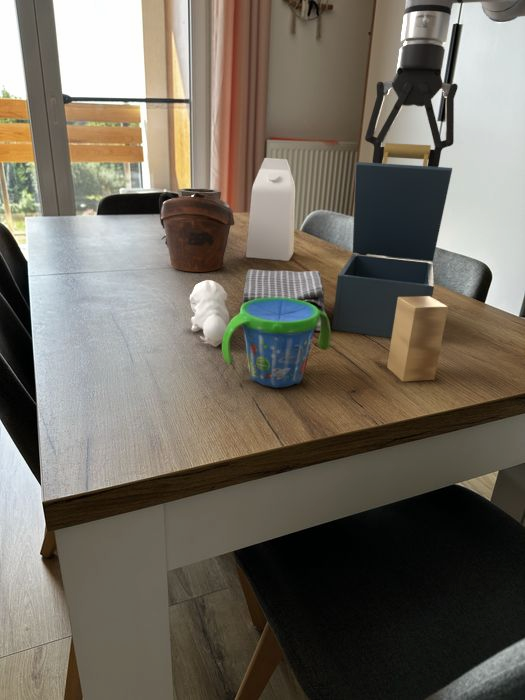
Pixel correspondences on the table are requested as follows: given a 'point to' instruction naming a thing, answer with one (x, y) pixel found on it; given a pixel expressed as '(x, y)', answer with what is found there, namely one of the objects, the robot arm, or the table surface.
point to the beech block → (416, 338)
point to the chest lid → (399, 204)
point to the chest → (377, 292)
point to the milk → (272, 212)
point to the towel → (285, 287)
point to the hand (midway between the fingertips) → (401, 185)
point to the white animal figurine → (209, 311)
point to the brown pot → (196, 231)
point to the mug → (189, 193)
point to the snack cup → (277, 338)
